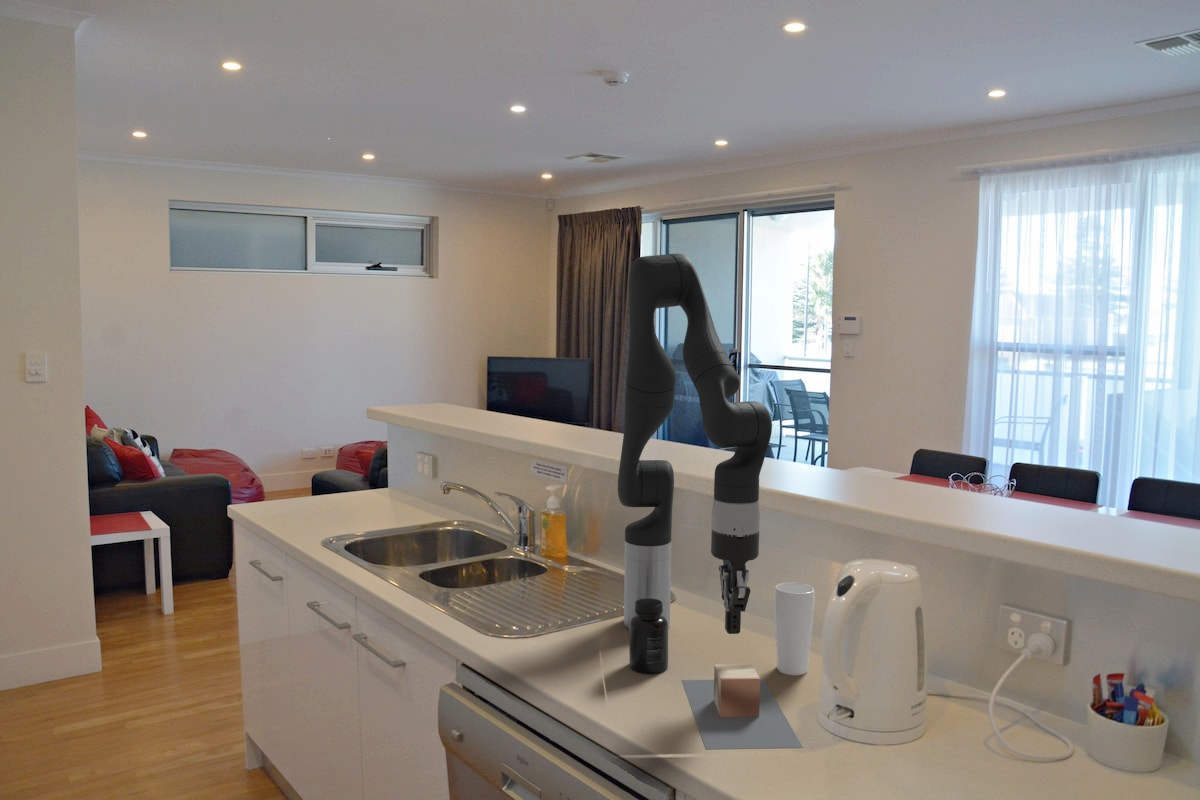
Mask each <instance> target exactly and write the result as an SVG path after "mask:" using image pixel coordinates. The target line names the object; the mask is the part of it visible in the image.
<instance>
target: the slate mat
mask: <svg viewBox="0 0 1200 800" xmlns="http://www.w3.org/2000/svg"><path fill="white" fill-rule="evenodd" d="M681 682H682V685H683V688H684V691H685V693H686V696H687V699H688V702H689V706H690V708H691V711H692V714H693V717H694V720H695V723H696V725H697V729H698V732H699V734H700V738H701V739H702V742H703V746H704V748H705V750H750V749H752V750H753V749H754V750H755V749H756V750H758V749H764V750H765V749H803V748H804V747H803V745H802V743H801V742H800V740H799V738H798V736H797V735H796V733H795V731H794V729H793V727H792V726H791V724H790V723H789V720H788V719H787V717H786V715H785V714H784V712H783V710H782V708H781V707H780V705H779V703H778V701H777V700H776V697H775V696H774V694H773V693H772V691H771V689H770V688H769V685H768V683H766V680H765V679H764V678H760V708H759V716H756V717H720V714H719V712H718V710H717V707H716V705H715V702H714V679H681Z"/></svg>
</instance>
